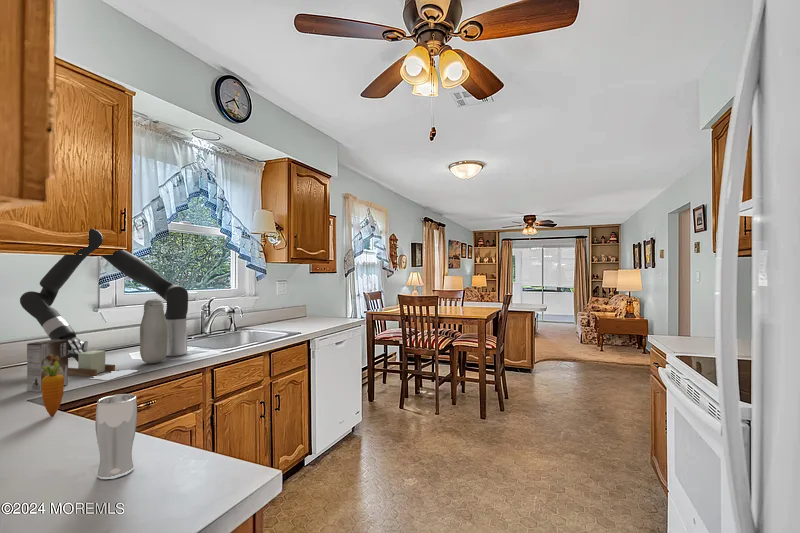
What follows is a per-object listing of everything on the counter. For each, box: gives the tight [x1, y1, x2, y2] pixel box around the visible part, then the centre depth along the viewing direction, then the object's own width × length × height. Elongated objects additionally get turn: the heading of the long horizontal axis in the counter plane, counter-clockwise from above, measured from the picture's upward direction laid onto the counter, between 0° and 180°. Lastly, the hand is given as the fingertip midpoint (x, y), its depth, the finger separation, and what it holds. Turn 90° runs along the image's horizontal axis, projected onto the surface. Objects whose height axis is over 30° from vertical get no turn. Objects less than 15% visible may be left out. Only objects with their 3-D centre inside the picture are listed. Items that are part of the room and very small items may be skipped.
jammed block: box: [77, 349, 106, 374], centre depth 160 cm, size 6×6×8 cm
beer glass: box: [94, 393, 138, 477], centre depth 82 cm, size 7×7×15 cm
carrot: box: [41, 361, 65, 417], centre depth 113 cm, size 5×5×15 cm
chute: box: [68, 363, 116, 377], centre depth 160 cm, size 9×13×2 cm
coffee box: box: [26, 339, 69, 393], centre depth 140 cm, size 9×6×16 cm
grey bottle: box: [139, 298, 168, 364], centre depth 178 cm, size 10×10×28 cm
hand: (84, 362), depth 161 cm, fingers closed
